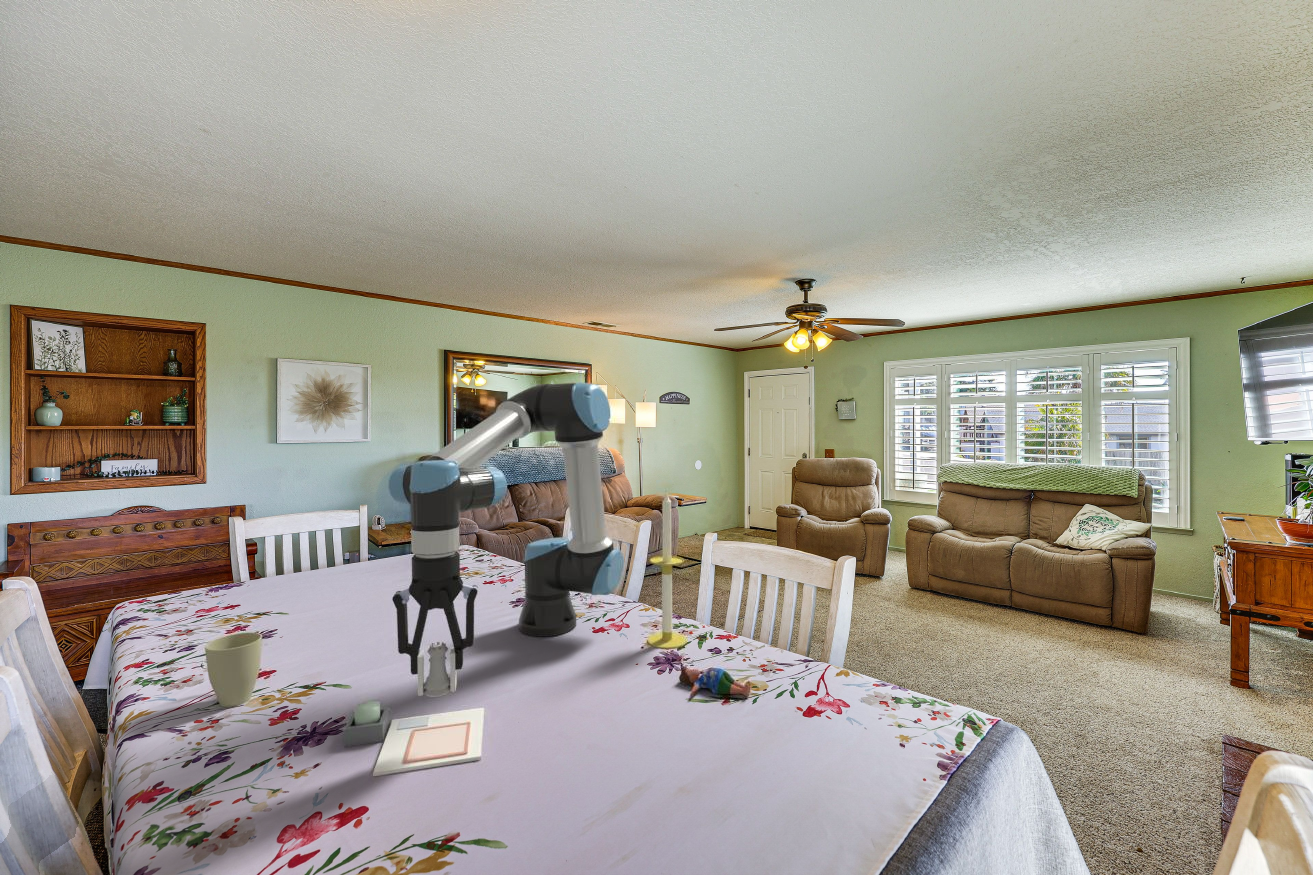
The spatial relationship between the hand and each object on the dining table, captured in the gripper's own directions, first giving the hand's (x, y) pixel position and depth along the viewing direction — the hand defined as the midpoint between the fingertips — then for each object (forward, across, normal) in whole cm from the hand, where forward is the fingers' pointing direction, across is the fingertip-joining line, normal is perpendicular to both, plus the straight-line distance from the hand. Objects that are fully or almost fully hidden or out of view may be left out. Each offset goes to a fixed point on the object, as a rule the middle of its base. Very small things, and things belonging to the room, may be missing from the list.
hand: (437, 689), depth 95 cm
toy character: (+10, -52, -7) cm, 54 cm away
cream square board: (+10, +1, -2) cm, 10 cm away
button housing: (+10, +12, -7) cm, 17 cm away
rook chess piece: (0, 0, 0) cm, 0 cm away
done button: (+8, +12, -7) cm, 17 cm away
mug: (+10, +41, -28) cm, 51 cm away
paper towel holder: (+10, -50, -33) cm, 61 cm away
